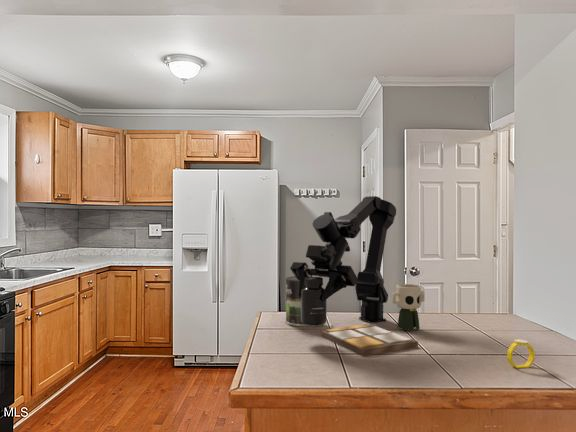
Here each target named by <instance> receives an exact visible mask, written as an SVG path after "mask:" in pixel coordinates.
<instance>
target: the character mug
mask: <svg viewBox="0 0 576 432" xmlns="http://www.w3.org/2000/svg"><path fill="white" fill-rule="evenodd" d="M395 289H396V290H395V291H396V292H393V293H392V295H391V300H392V304H393V305H396V307H398V308H399V309H400V310H399V312H398V320H397V327H398V328H399V329H401V330H402V331H414V329H415V331H418V330H420V319H419V312H418V310H417V309H419V308H421V307H422V303H423V302H425V291H424V290H422V287H421V285H418V284H411V283H402V284H396V288H395Z"/></svg>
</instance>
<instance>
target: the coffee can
mask: <svg viewBox="0 0 576 432" xmlns="http://www.w3.org/2000/svg"><path fill="white" fill-rule="evenodd" d="M299 285H300V281H299V280H298V279H297V278H296V277H295V275H294V276H287V277H286V278H285V291H286V292H285V299H286V300H285V307H286V308H285V309H286V310H285V313H286V314H285V315H286V317H285V323H286V324H287V325H289V326H293V327H312V325H305V324H303V323H302V322H301V298H299Z"/></svg>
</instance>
